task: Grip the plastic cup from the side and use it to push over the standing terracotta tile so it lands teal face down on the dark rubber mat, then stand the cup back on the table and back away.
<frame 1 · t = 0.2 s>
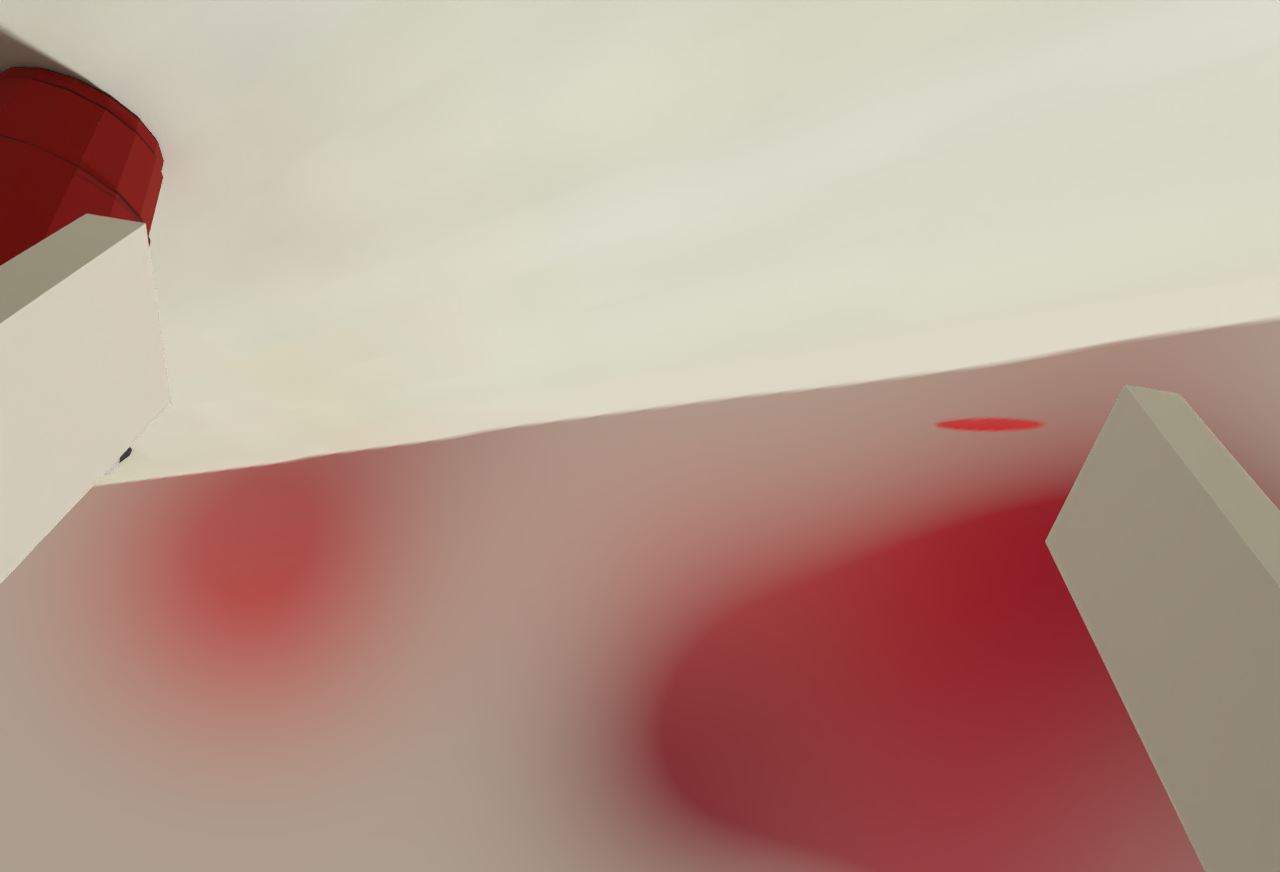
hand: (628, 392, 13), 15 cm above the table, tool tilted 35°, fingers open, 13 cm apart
plastic cup: (83, 126, 34), on the table
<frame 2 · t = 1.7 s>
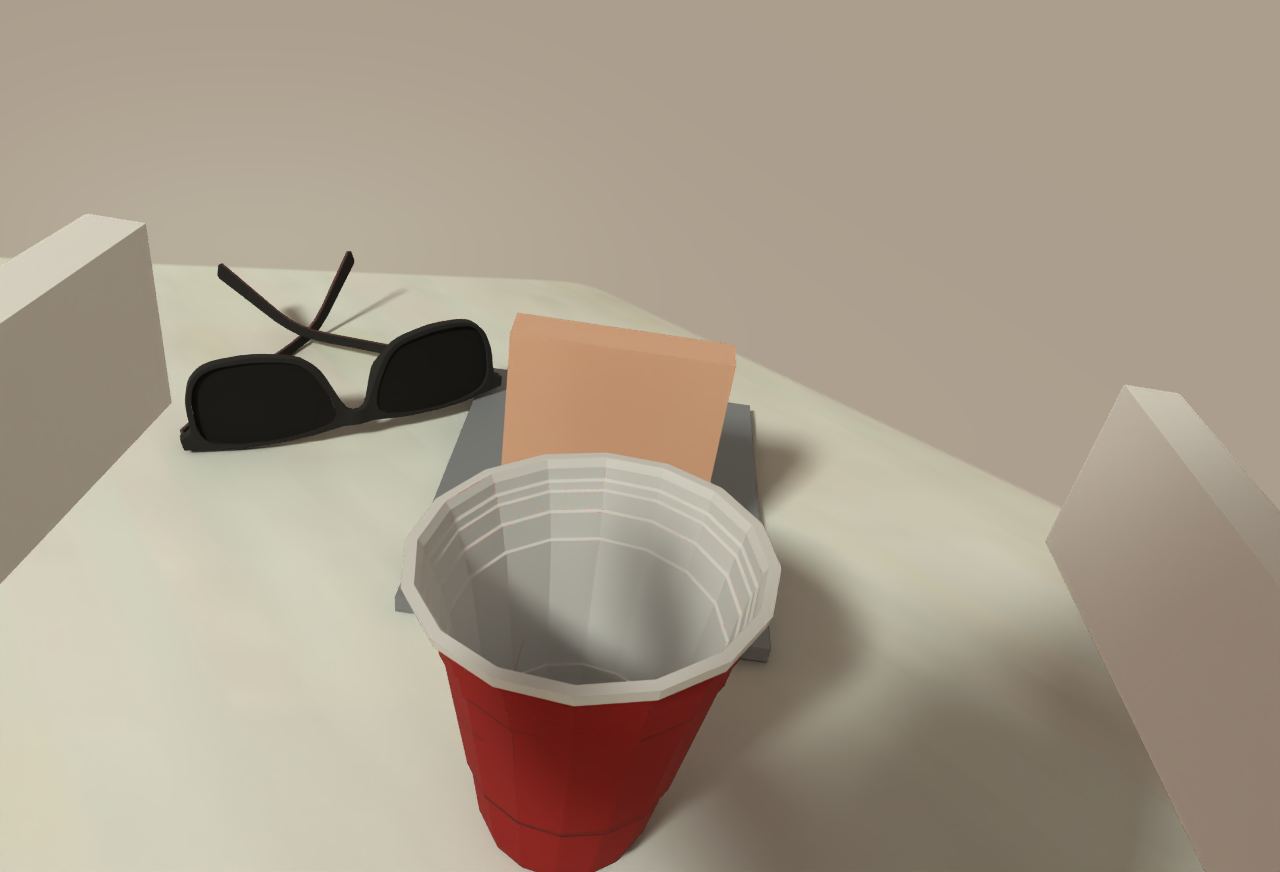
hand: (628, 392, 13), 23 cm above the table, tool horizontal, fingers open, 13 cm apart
mat: (602, 496, 48), on the table
plastic cup: (557, 803, 33), on the table
tile: (595, 546, 44), point 1 cm above the table, touching mat
sunglasses: (329, 374, 54), on the table, touching mat
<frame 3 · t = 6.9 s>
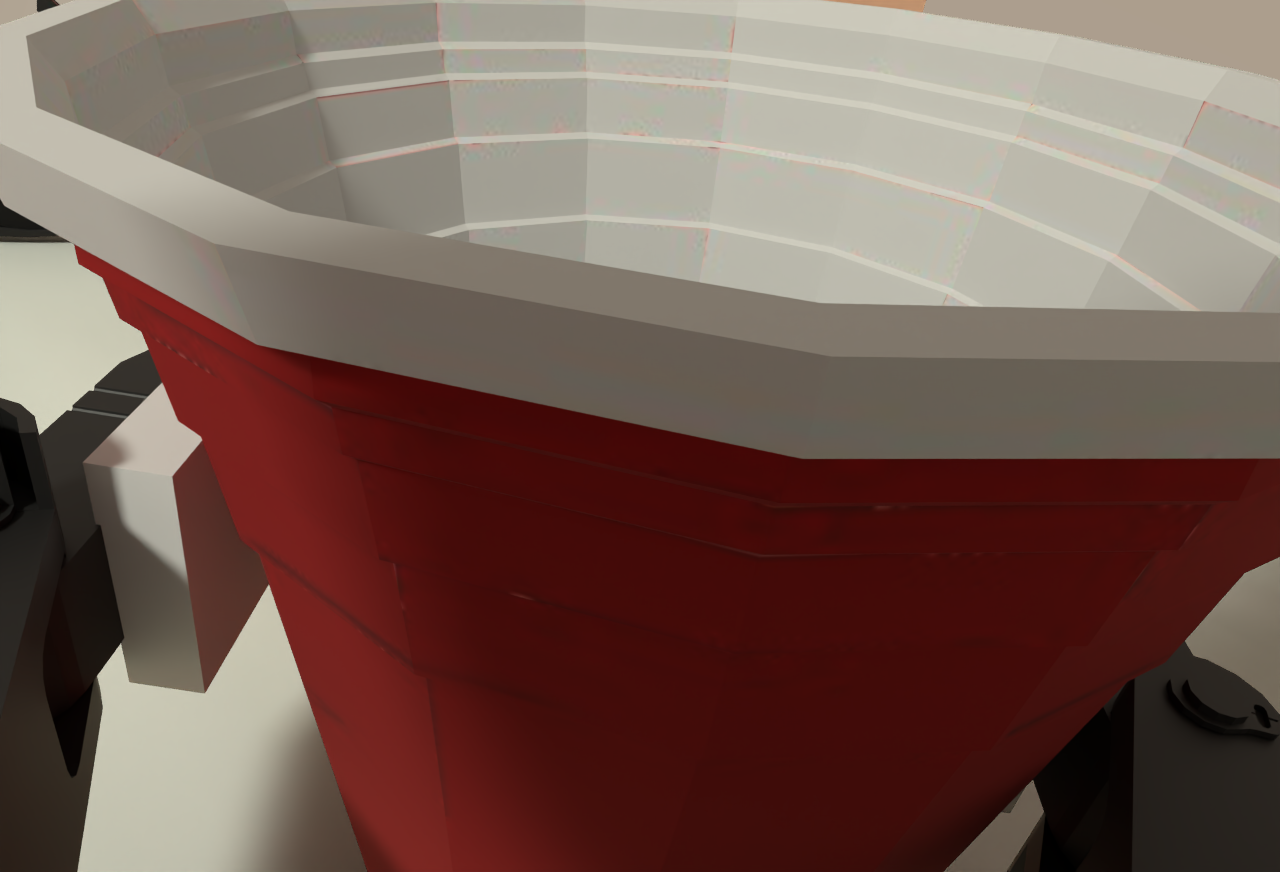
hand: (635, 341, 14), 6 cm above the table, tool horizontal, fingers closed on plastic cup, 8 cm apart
tile: (624, 392, 24), point 1 cm above the table, touching mat
sunglasses: (210, 167, 35), on the table, touching mat
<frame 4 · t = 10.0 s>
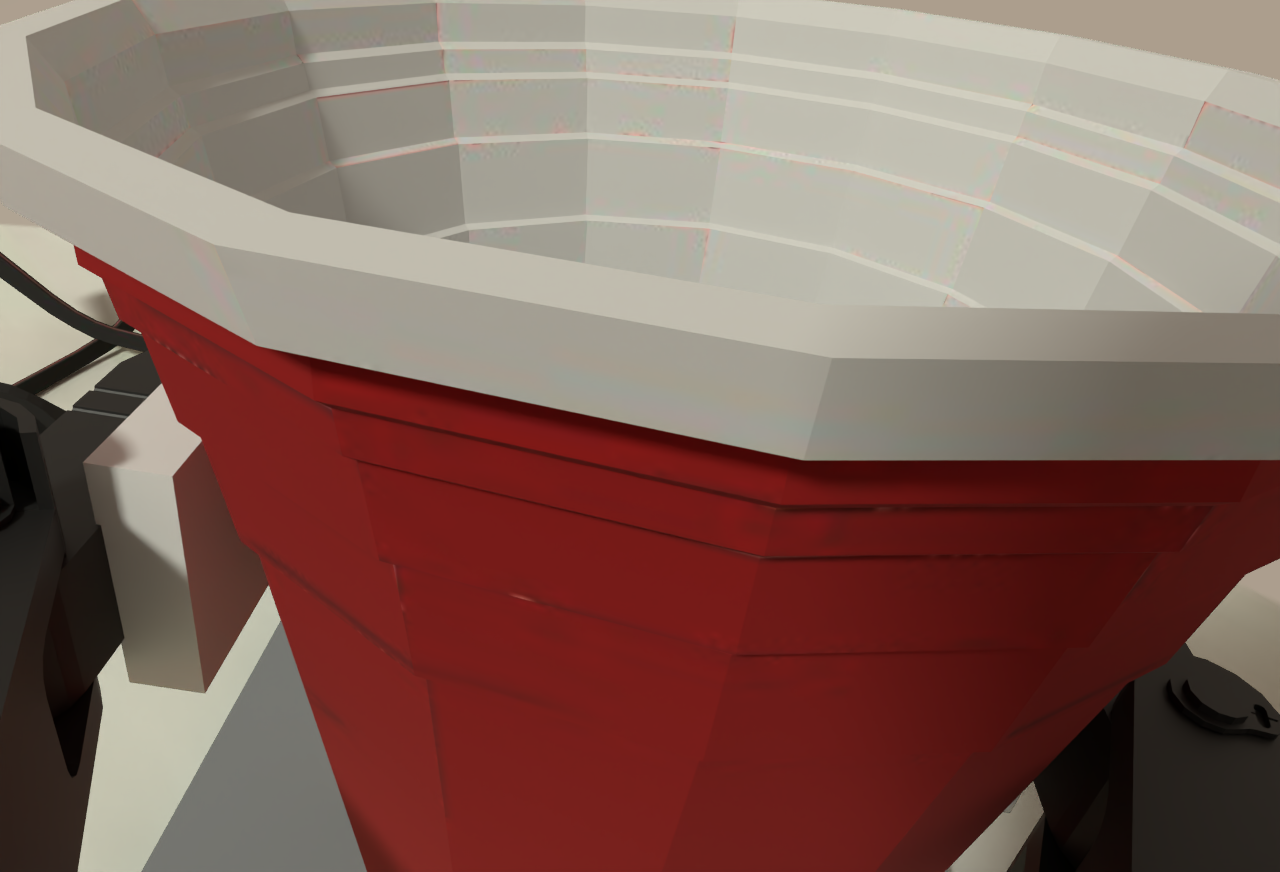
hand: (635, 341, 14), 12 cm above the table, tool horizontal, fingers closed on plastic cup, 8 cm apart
mat: (600, 664, 25), on the table
sunglasses: (134, 407, 31), on the table, touching mat
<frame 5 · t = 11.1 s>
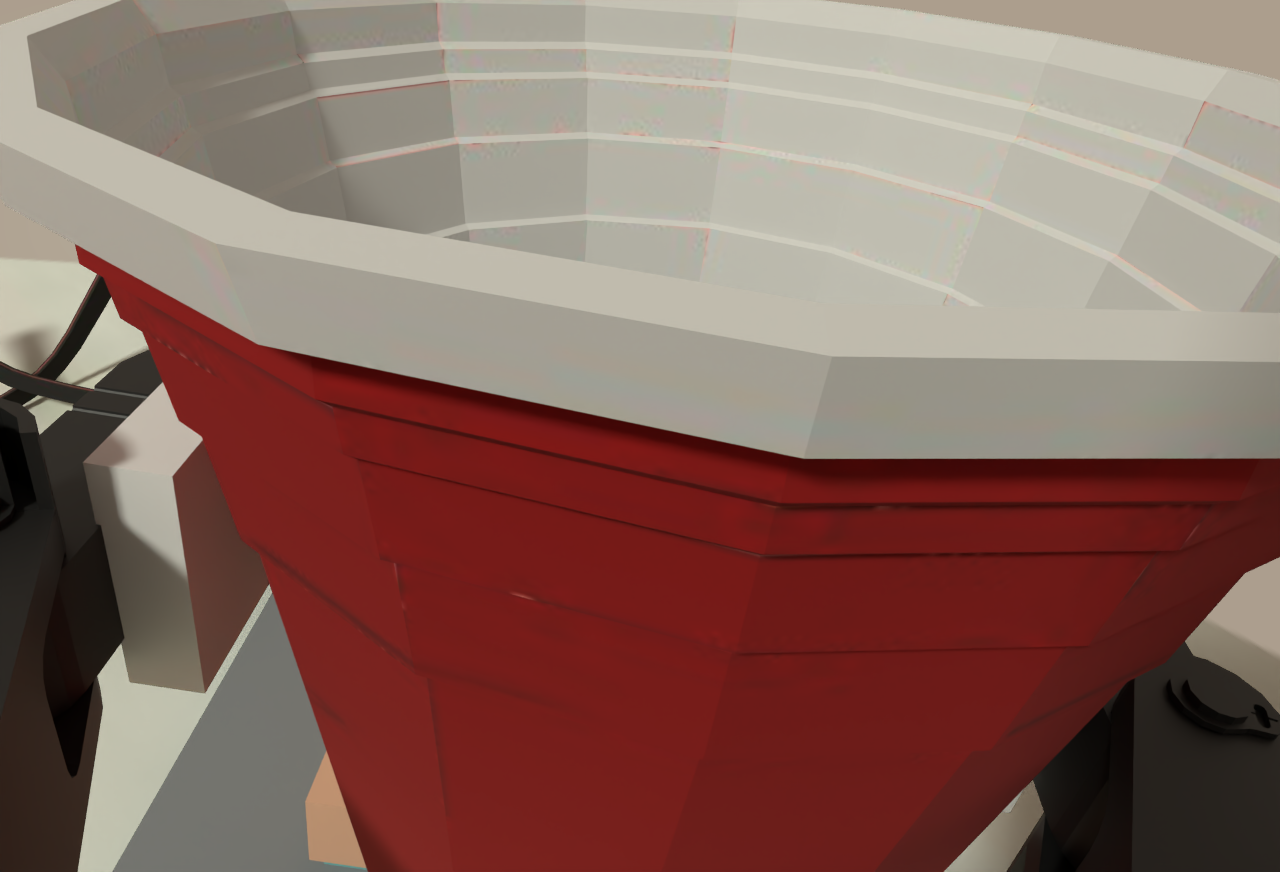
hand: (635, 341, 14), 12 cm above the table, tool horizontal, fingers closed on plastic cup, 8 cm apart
mat: (561, 772, 22), on the table
tile: (547, 866, 17), point 2 cm above the table, tilted 90°, touching mat
sunglasses: (53, 466, 28), on the table, touching mat
when the fingers open (6 cm above the table, at t = 15.7 s): plastic cup stays where it is, on the table.
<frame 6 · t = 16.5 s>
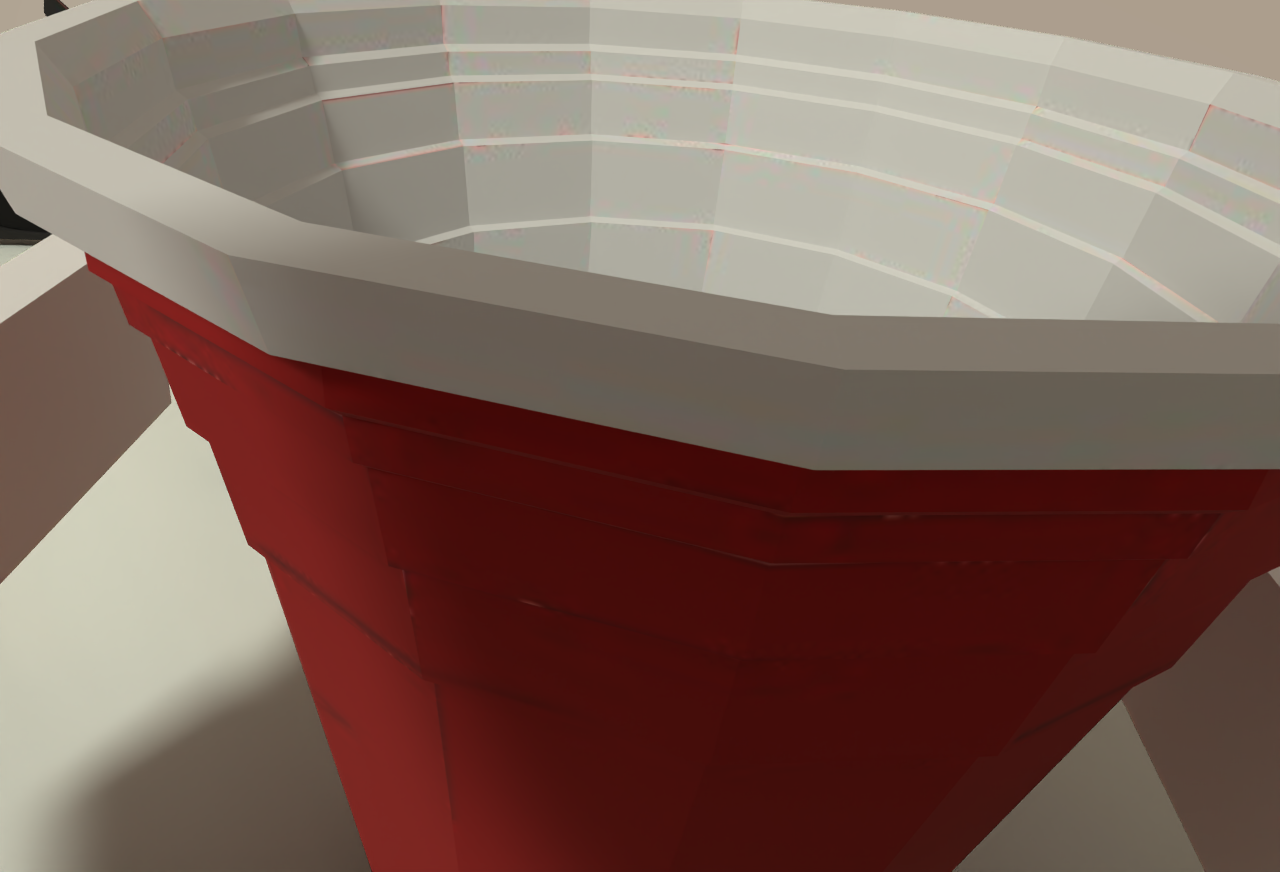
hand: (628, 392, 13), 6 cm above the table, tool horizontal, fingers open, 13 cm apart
sunglasses: (220, 168, 35), on the table, touching mat
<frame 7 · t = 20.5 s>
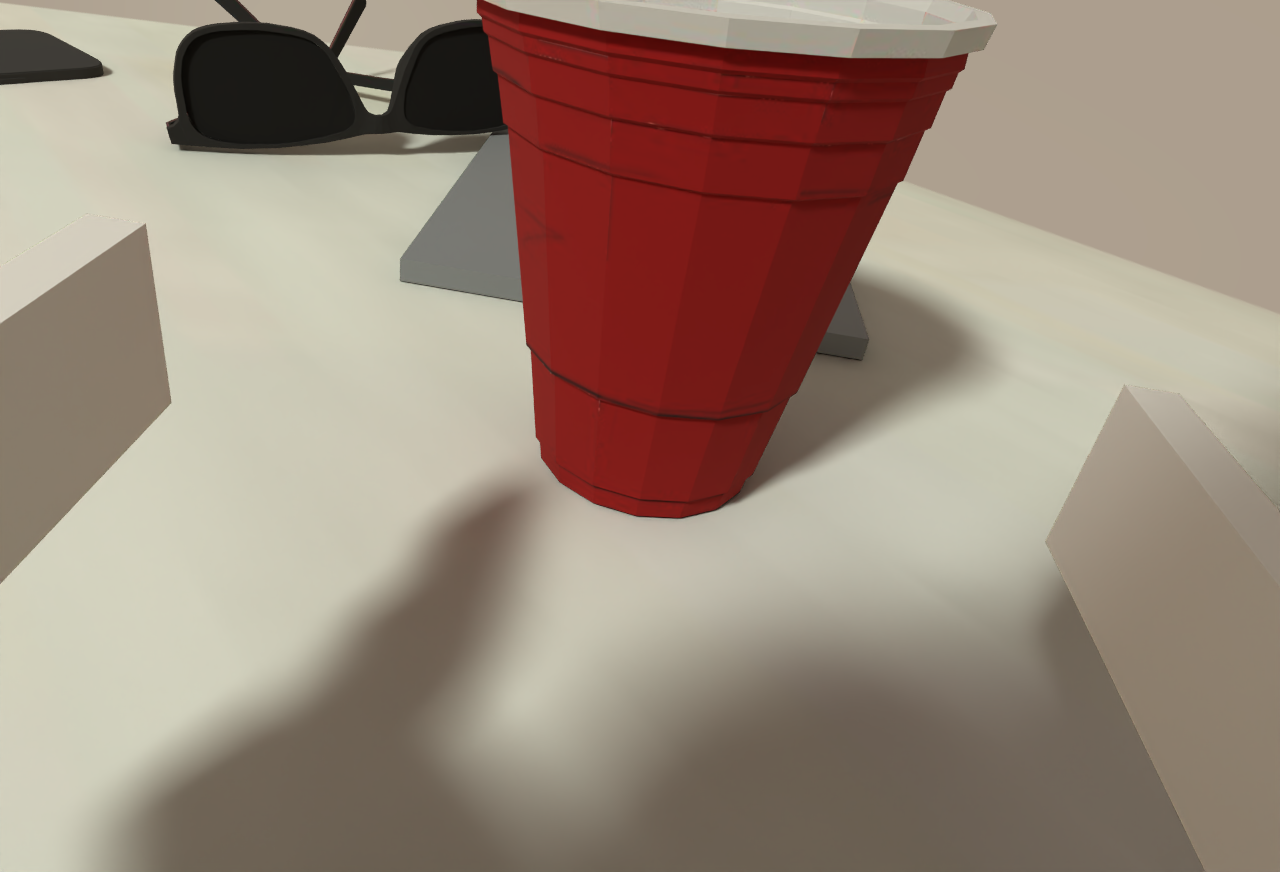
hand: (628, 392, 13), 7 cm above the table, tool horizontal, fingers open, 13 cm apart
mat: (648, 220, 40), on the table
plastic cup: (634, 456, 25), on the table
sunglasses: (340, 110, 46), on the table, touching mat
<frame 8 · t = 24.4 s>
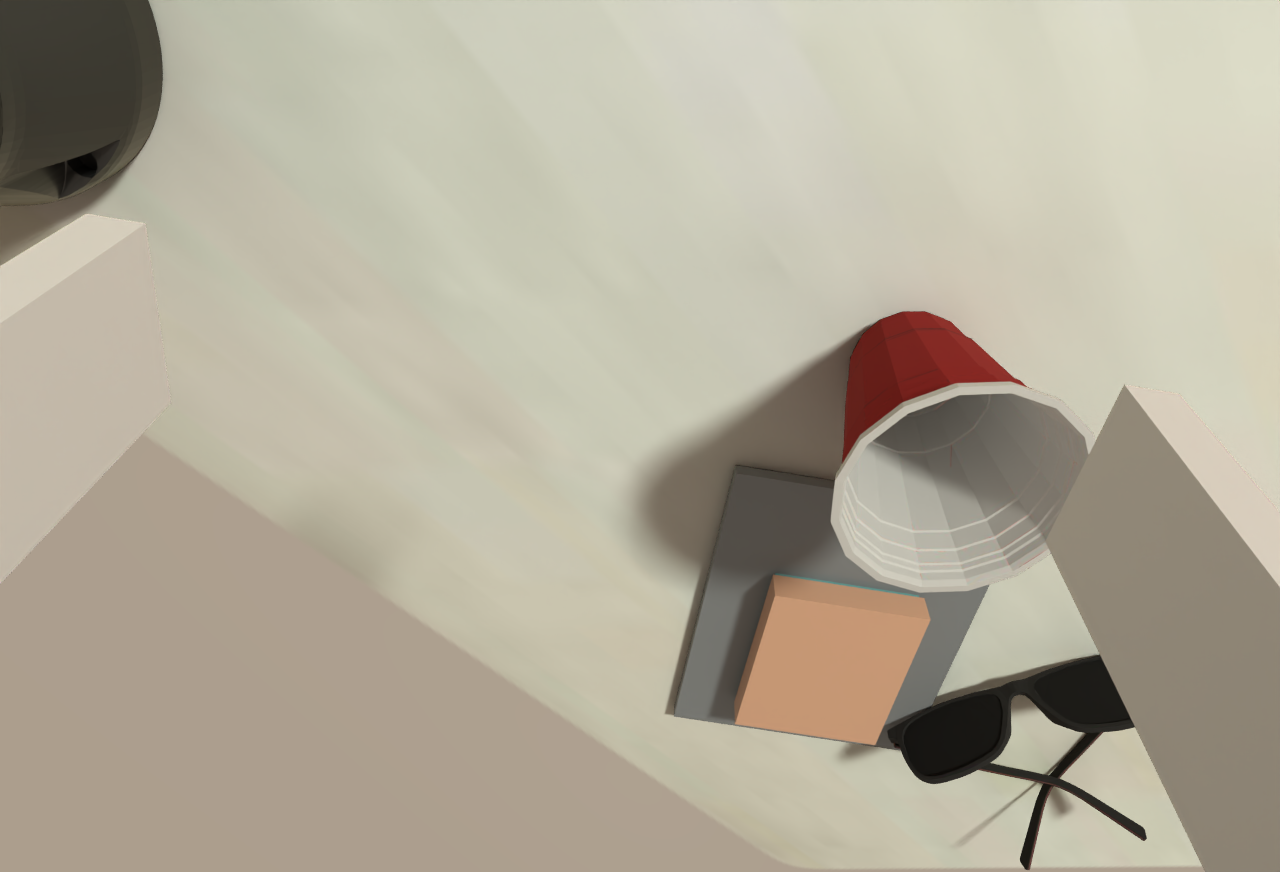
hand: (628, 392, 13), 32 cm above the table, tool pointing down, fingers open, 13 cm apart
mat: (830, 617, 57), on the table
plastic cup: (909, 361, 48), on the table
tile: (850, 596, 54), point 2 cm above the table, tilted 90°, touching mat
sunglasses: (1031, 739, 62), on the table, touching mat
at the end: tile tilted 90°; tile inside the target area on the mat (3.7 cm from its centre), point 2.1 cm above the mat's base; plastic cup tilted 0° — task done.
